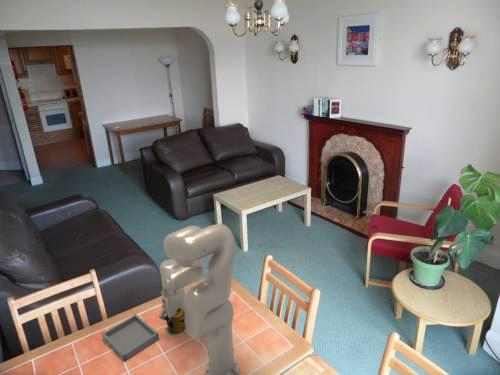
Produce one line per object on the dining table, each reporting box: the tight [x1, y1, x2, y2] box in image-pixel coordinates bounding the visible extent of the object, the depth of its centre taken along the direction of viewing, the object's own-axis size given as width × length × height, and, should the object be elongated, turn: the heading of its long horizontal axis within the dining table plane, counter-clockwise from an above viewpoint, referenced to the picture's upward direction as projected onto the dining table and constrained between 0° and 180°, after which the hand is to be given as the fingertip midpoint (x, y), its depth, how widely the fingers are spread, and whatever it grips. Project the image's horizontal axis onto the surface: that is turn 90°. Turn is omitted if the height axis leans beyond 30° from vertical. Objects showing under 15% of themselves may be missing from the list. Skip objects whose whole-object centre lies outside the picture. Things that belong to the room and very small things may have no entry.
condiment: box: [164, 308, 187, 339], centre depth 159 cm, size 7×8×12 cm
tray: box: [101, 314, 160, 362], centre depth 157 cm, size 18×16×3 cm
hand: (177, 322), depth 161 cm, fingers closed on condiment, 6 cm apart
